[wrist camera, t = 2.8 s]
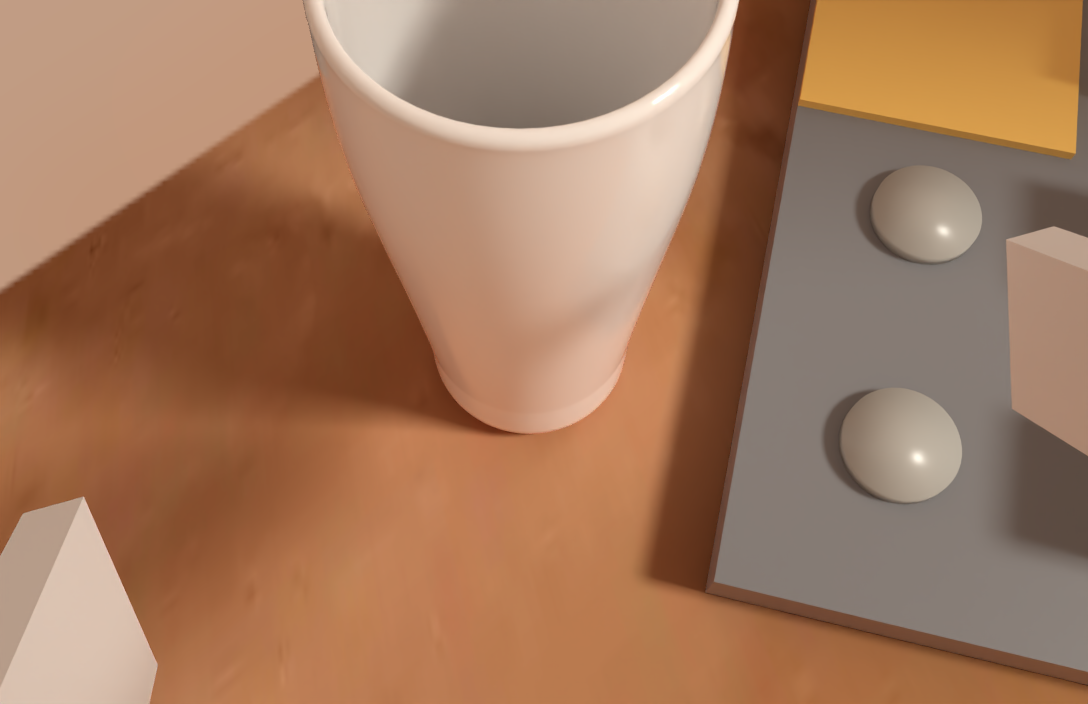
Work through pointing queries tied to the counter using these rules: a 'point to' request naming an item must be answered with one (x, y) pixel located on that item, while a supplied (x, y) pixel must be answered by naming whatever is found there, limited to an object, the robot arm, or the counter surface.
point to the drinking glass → (524, 175)
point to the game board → (914, 338)
